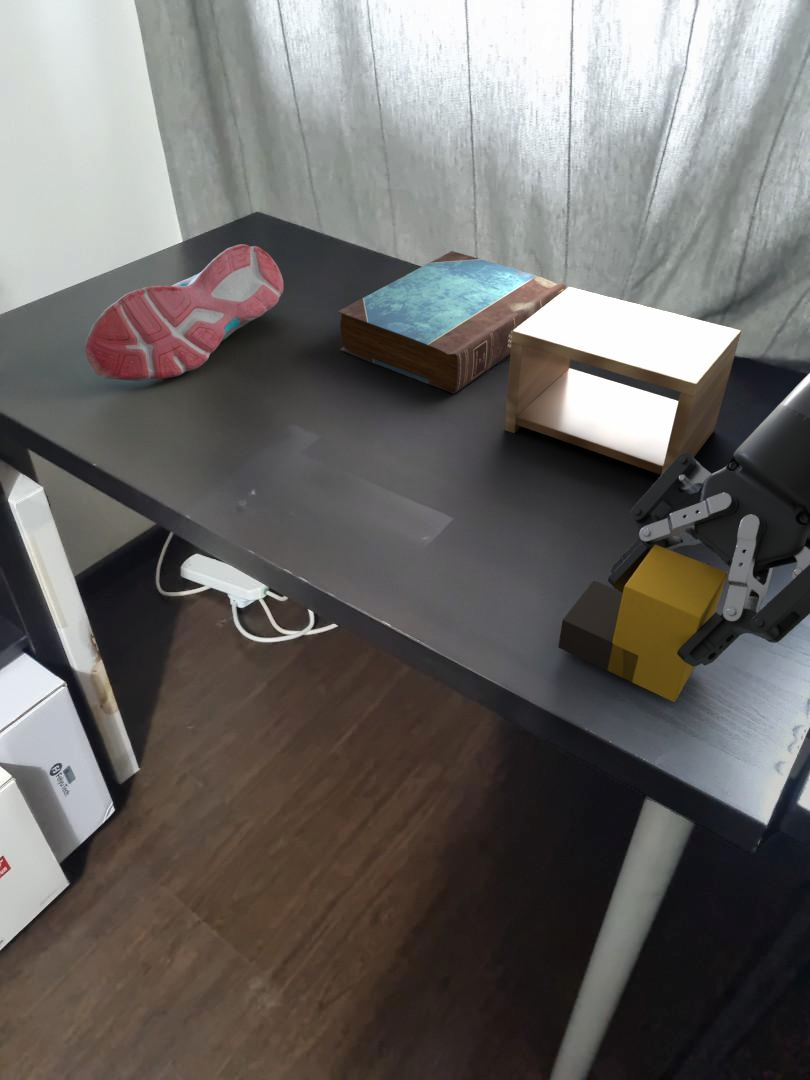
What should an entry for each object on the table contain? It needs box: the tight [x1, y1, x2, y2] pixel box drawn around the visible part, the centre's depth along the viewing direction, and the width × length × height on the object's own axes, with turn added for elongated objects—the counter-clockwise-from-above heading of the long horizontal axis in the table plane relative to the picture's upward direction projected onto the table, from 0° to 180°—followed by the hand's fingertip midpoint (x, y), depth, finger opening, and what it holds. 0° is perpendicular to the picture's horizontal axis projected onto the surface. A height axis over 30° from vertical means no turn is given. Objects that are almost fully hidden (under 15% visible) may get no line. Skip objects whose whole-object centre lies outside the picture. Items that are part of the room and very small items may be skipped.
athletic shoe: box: [84, 243, 284, 382], centre depth 99 cm, size 27×9×12 cm
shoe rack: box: [504, 286, 742, 476], centre depth 82 cm, size 18×12×11 cm, turn 55°
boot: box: [558, 545, 729, 703], centre depth 59 cm, size 9×5×8 cm, turn 55°
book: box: [337, 250, 566, 394], centre depth 100 cm, size 23×18×5 cm
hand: (649, 622), depth 57 cm, fingers closed on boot, 7 cm apart
